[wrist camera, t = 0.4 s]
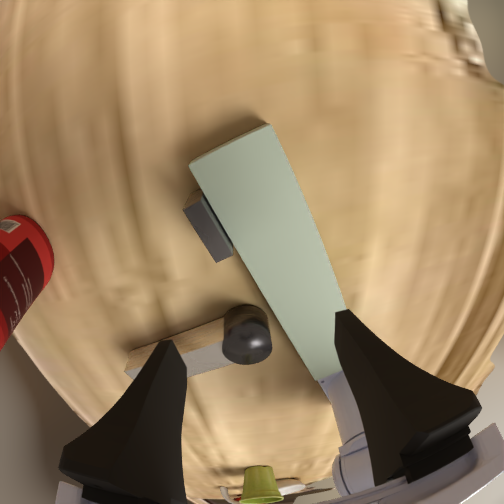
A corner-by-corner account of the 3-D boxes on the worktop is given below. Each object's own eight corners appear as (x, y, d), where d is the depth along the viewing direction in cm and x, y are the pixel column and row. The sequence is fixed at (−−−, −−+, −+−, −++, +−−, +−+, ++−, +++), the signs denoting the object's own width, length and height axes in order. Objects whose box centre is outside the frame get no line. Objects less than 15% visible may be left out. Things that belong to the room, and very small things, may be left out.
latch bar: (256, 298, 23) (259, 325, 20) (274, 328, 25) (279, 354, 22) (127, 348, 25) (119, 371, 22) (151, 370, 27) (146, 393, 24)
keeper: (232, 233, 20) (233, 255, 17) (218, 240, 20) (216, 263, 17) (205, 185, 18) (200, 200, 15) (190, 193, 18) (182, 209, 16)
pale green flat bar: (356, 347, 27) (362, 361, 26) (311, 366, 28) (315, 380, 27) (266, 123, 16) (271, 124, 15) (192, 160, 17) (188, 165, 16)
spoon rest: (301, 472, 53) (305, 495, 47) (305, 479, 59) (309, 499, 53) (214, 483, 55) (215, 504, 49) (229, 489, 60) (230, 508, 54)
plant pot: (229, 467, 46) (231, 500, 38) (270, 460, 44) (275, 496, 37) (247, 475, 50) (250, 505, 42) (284, 468, 49) (289, 499, 41)
